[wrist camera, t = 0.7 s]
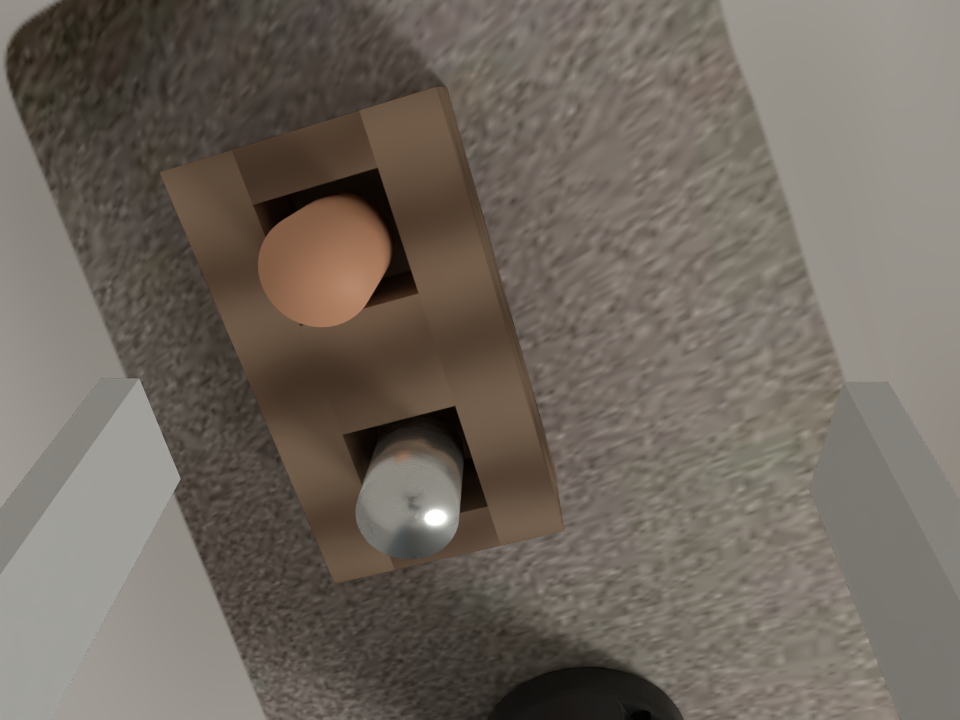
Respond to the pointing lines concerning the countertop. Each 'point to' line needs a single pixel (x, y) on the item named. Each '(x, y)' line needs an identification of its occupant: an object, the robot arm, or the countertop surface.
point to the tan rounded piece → (326, 259)
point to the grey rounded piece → (412, 488)
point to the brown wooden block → (378, 324)
